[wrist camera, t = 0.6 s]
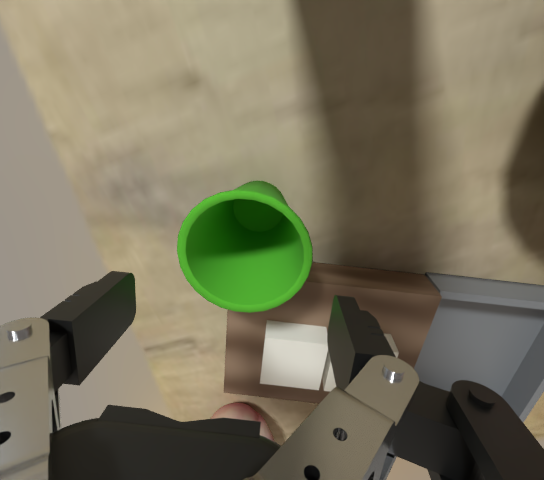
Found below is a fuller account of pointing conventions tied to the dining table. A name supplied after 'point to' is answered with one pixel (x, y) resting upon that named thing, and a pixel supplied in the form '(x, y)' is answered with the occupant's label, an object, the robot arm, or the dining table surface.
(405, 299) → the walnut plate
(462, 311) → the box
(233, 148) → the dining table surface
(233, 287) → the cup
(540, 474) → the robot arm
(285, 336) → the tile
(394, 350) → the tile
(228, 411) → the decorative fruit
